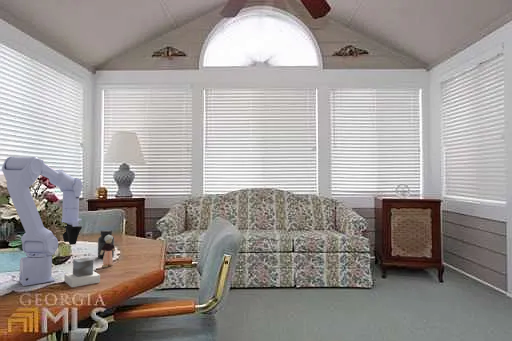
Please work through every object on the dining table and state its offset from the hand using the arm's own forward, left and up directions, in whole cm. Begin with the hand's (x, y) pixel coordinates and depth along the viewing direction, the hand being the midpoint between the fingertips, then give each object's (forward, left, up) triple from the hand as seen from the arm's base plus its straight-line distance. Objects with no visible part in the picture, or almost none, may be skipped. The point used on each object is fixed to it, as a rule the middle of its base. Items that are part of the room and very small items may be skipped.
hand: (69, 243), depth 139 cm
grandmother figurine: (+14, -3, -11) cm, 18 cm away
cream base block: (-1, -20, -11) cm, 23 cm away
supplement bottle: (+19, +14, -11) cm, 26 cm away
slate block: (-1, -20, -8) cm, 21 cm away
